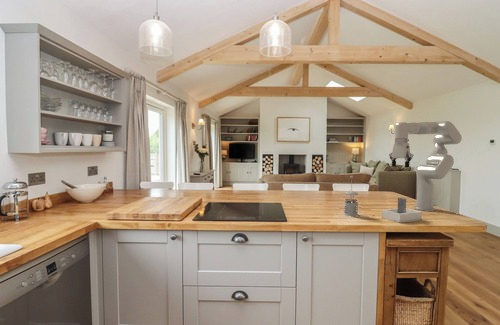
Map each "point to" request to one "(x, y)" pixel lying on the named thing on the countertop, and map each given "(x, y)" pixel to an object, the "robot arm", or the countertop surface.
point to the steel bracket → (401, 205)
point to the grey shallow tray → (401, 215)
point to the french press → (351, 204)
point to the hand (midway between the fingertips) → (400, 167)
